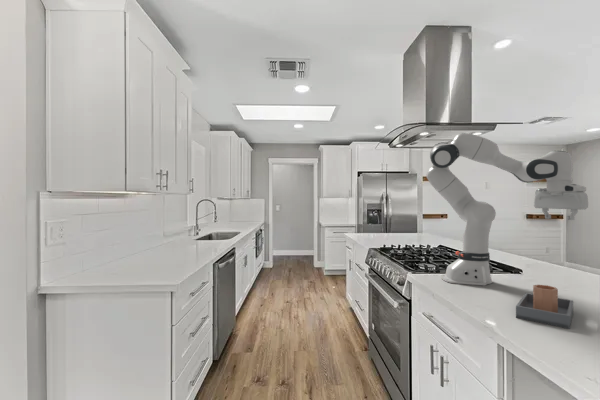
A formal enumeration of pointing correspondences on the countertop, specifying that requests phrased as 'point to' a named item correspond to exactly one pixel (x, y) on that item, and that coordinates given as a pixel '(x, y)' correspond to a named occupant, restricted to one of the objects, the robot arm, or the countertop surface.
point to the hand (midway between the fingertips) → (559, 219)
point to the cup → (545, 298)
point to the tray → (545, 312)
